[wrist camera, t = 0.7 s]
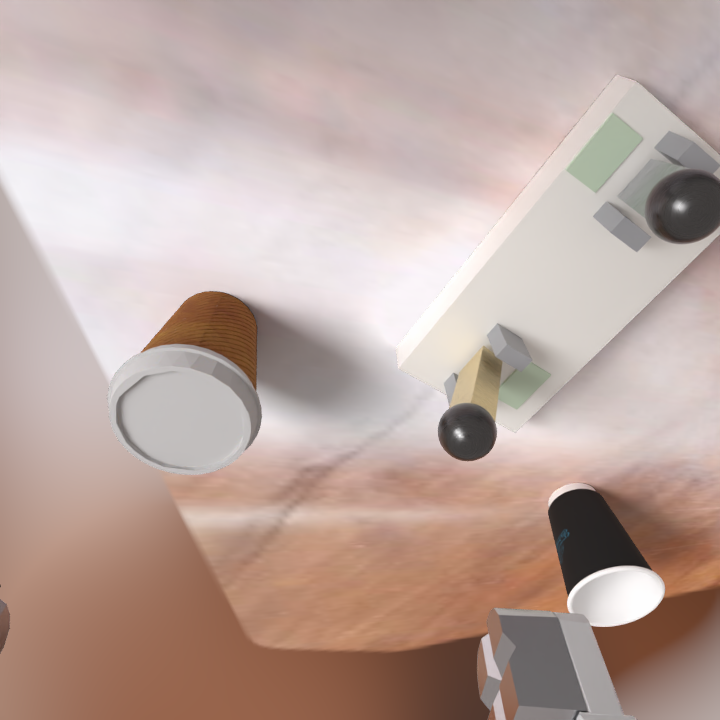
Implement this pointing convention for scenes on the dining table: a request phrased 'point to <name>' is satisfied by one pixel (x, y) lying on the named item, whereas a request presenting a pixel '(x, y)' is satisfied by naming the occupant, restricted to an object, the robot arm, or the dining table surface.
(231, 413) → the disposable coffee cup
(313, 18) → the dining table surface
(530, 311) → the switch panel
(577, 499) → the dixie cup
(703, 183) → the steel lever
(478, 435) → the brass lever
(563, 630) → the robot arm
